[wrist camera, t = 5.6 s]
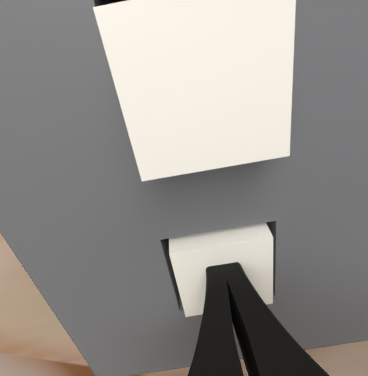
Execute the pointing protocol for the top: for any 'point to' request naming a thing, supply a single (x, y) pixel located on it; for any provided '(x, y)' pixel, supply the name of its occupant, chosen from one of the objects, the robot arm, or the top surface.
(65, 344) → the top surface
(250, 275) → the button
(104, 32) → the button middle
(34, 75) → the button board
